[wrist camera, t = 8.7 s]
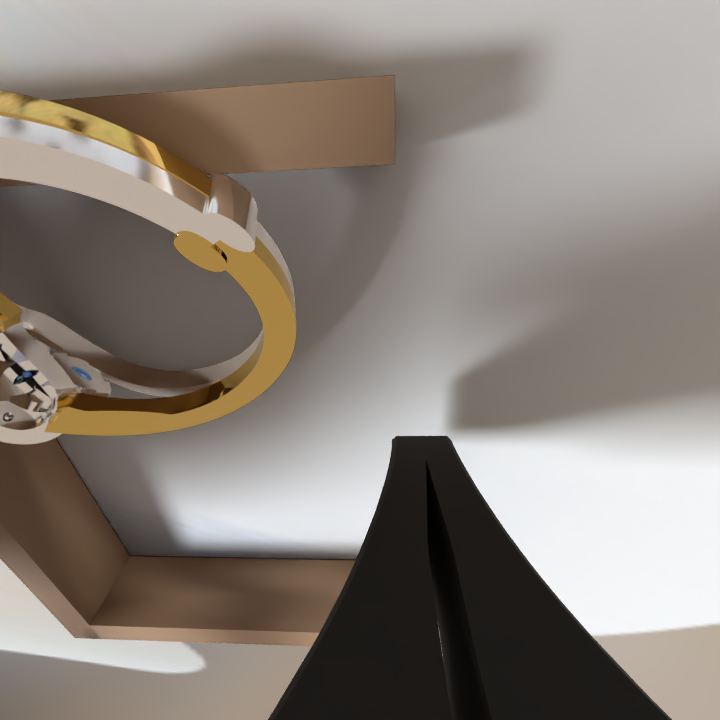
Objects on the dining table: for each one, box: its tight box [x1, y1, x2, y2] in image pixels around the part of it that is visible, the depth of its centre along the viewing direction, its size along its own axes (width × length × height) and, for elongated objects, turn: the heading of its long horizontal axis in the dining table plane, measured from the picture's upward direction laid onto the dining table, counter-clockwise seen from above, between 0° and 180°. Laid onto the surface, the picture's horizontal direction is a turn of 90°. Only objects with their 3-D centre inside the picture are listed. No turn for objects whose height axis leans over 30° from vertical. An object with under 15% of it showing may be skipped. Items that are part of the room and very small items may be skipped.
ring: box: [0, 91, 296, 444], centre depth 7 cm, size 7×3×8 cm
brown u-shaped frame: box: [0, 75, 395, 646], centre depth 10 cm, size 12×16×2 cm
